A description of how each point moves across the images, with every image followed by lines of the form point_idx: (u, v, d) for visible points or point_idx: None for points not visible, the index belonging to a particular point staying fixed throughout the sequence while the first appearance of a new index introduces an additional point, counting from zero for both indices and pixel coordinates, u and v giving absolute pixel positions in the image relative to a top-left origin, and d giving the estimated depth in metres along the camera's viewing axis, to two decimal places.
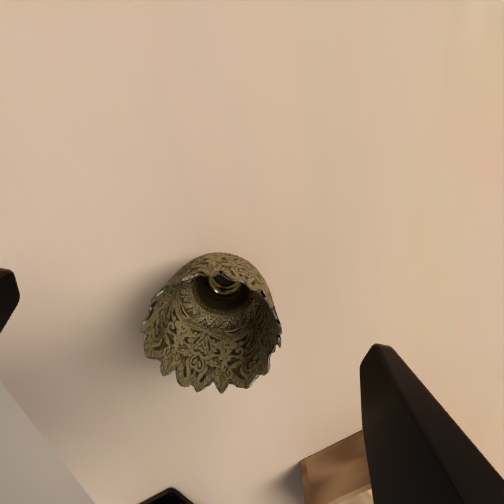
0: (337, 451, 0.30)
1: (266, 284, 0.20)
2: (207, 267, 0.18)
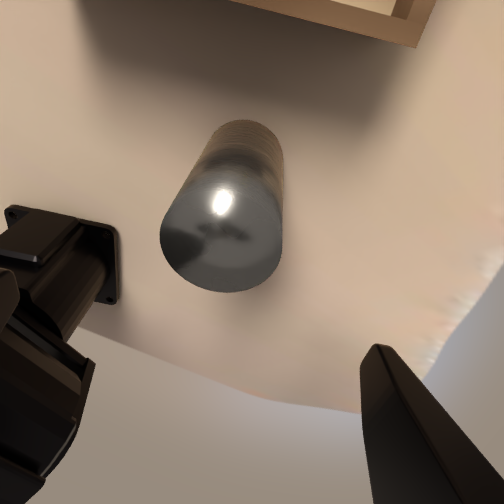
0: None
1: None
2: None
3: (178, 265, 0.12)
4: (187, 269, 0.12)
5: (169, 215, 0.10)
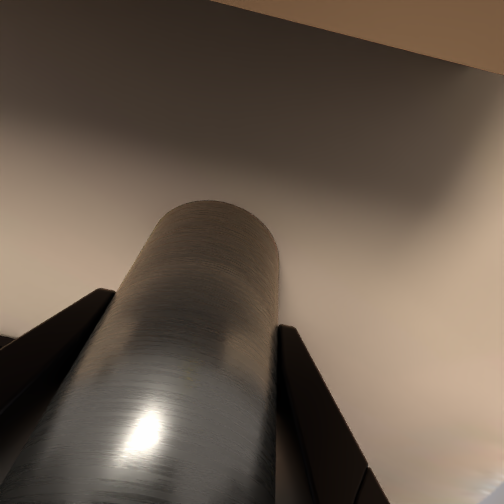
0: None
1: None
2: None
3: None
4: None
5: None
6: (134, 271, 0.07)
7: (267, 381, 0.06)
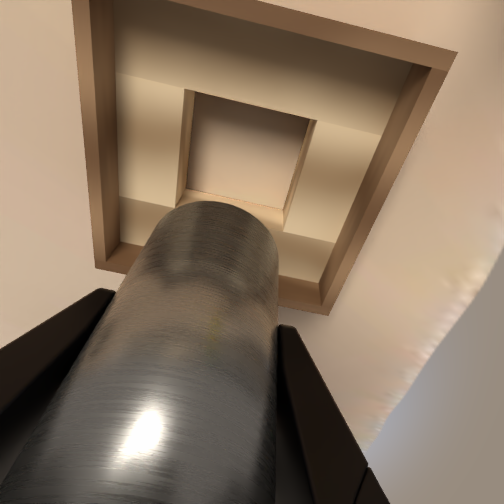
0: None
1: None
2: None
3: None
4: None
5: None
6: (134, 271, 0.07)
7: (267, 382, 0.06)
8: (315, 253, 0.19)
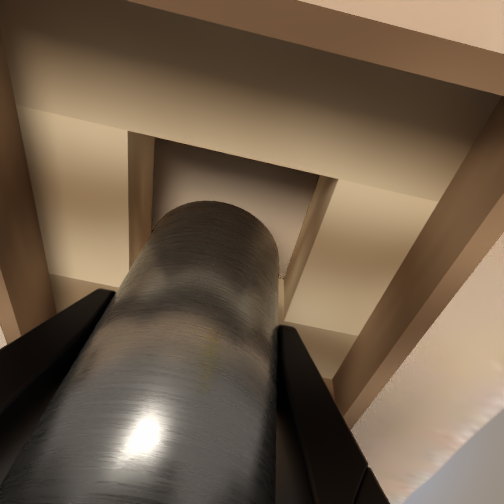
0: None
1: None
2: None
3: None
4: None
5: None
6: (134, 271, 0.07)
7: (267, 382, 0.06)
8: (329, 346, 0.14)
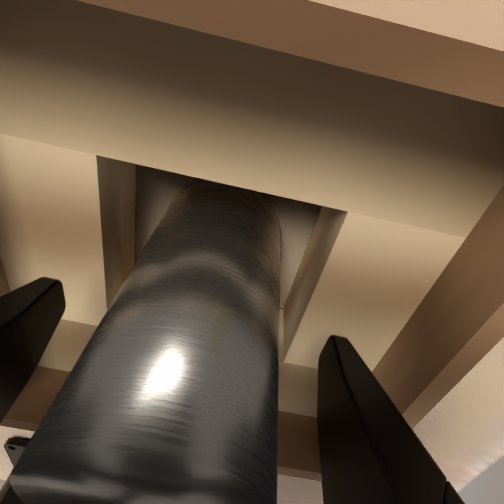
0: None
1: None
2: None
3: None
4: None
5: (21, 471, 0.05)
6: (156, 235, 0.09)
7: (271, 320, 0.07)
8: None
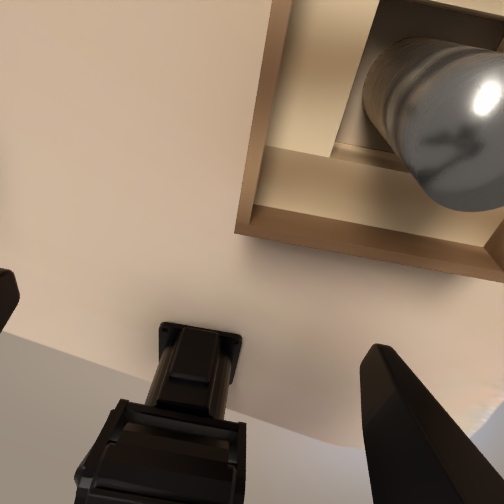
0: None
1: None
2: None
3: (428, 177, 0.10)
4: (437, 182, 0.10)
5: (447, 104, 0.08)
6: (404, 56, 0.12)
7: None
8: None
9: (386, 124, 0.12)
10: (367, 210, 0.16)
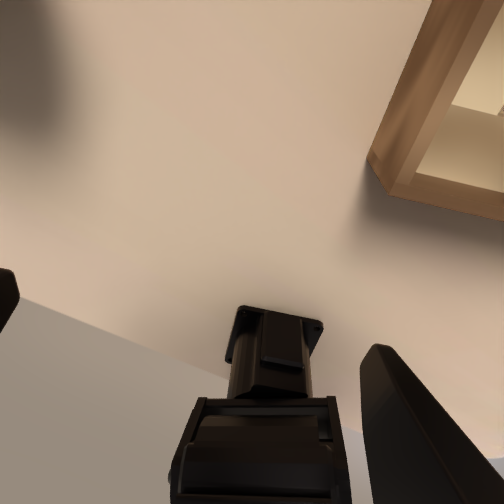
0: (405, 80, 0.15)
1: None
2: None
3: None
4: None
5: None
6: None
7: None
8: None
9: None
10: None
